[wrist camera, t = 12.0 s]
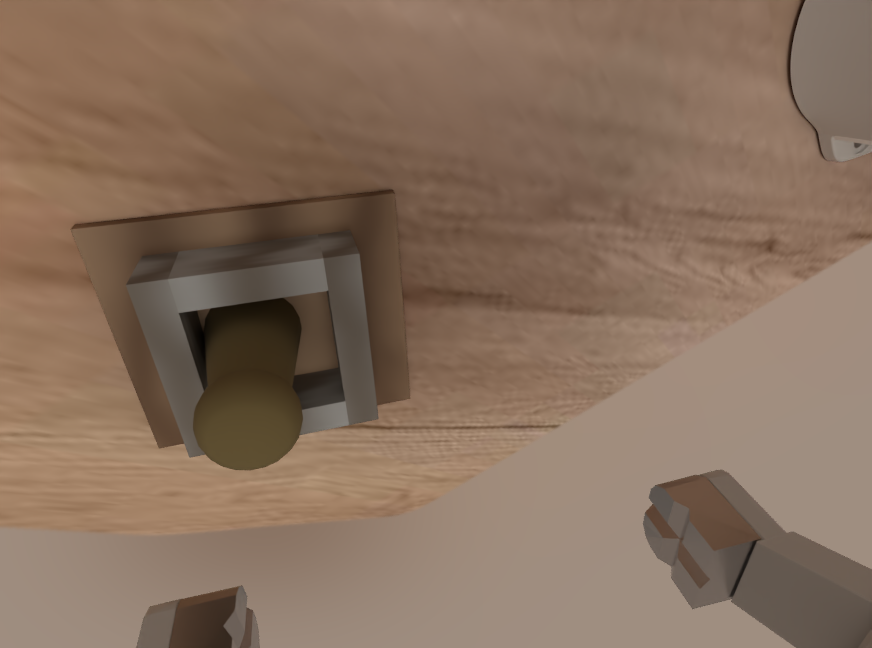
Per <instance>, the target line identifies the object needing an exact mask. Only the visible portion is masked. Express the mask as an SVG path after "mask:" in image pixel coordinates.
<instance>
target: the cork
mask: <svg viewBox="0 0 872 648" xmlns="http://www.w3.org/2000/svg"><path fill="white" fill-rule="evenodd" d="M301 331H302V327H301V322H300V317H299V315H298V314H297V312H296V310H295V309H294V307H293V305H291V304H290V303H289V302H288V301H287V300H286V299H284V298H277V299H270V300H263V301H256V302H250V303H243V304H236V305H229V306H223V307H216V308H210V310H209V312H208V314H207V316H206V318H205V325H204V341H205V355H206V369H207V382H208V387H207V388H206V389H205V391H204V392H203V394H202V396H201V397H200V399H199V401H198V403H197V405H196V407H195V411H194V418H193V431H194V435H195V438H196V441H197V444H198V446H199V447H200V449H201V450H202V451H203V452H204V453H205V454H206V455H207V456H208V457H209V458H210V459H211V460H212V461H214V462H216V463H217V464H219V465H221V466H223V467H226V468H230V469H234V470H254V469H259V468H263V467H266V466H268V465H271V464H273V463H275V462H277V461H278V460H280V459H281V458H282V457H283V456H284V455H286V454H287V453H288V452H289V451H290V450H291V449H292V447H293V446H294V444H295V443H296V441H297V440H298V438H299V435H300V431H301V427H302V422H303V414H302V408H301V403H300V399H299V397H298V396H297V394H296V392H295V391H294V389H293V388H292V386H293V380H294V374H295V368H296V362H297V355H298V349H299V343H300V337H301Z"/></svg>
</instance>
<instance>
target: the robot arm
mask: <svg viewBox="0 0 872 648" xmlns="http://www.w3.org/2000/svg"><path fill="white" fill-rule="evenodd" d="M790 69H791V84H792V89H793V94H794V97H795V100H796V103H797V105H798V107H799V109H800V111H801V112H802V114H803V115H804V116H805V118H806V119H807V120H808V121H809V122H810V123H811V124H812V125H813V126H814V127H815V129H816V130H817V132H818V135H819V141H820V146H821V150H822V153H823V156H824V158H825V159H826V160H828V161H835V162H845V161H848V160H851V159H854V158H857V157H860V156H862V155H865V154H868V153H871V152H872V0H805V2H804V5H803V8H802V10H801V13H800V16H799V19H798V23H797V26H796V30H795V34H794V39H793V45H792V52H791V68H790ZM649 499H650V500H651V502H652V503H653V504H652V506H651V507H650V508H649V509H648V510H647V511H646V512H645V516H644V521H643V525H644V530H645V535H646V538H647V540H648V542H649V544H650V547H651V548H652V550H653V551H654V553H655V555H656V556H657V558H658V559H660V560H662V561H663V562H665V563H667V564H668V565H670V566H671V568H672V569H671V578H672V580H673V581H674V583H675V584H676V586H677V587H678V589H679V590H680V591H681V593H682V594H683V596H684V597H685V599H686V600H687V602H688V603H689V605H690V606H691V607H692V609H694V608H698V607H702V606H706V605H710V604H714V603H718V602H722V601H726V600H730V599H732V601H731V602H732V603H734V604H735V605H737V606H738V607H740V608H741V609H742V610H744V611H745V612H747V613H748V614H749V615H751V616H752V617H754V618H755V619H756V620H758V621H759V622H761V623H762V624H763V625H765V626H766V627H768V628H769V629H770V630H772V631H774V632H775V633H776V634H778V635H779V636H780V637H782V638H783V639H785V640H786V641H787V642H789V643H790V644H792V645H793V646H794V647H796V648H872V569H870V568H868V567H866V566H863V565H861V564H859V563H857V562H855V561H853V560H851V559H849V558H847V557H845V556H843V555H841V554H839V553H837V552H835V551H832V550H830V549H828V548H826V547H824V546H822V545H820V544H818V543H816V542H814V541H811V540H809V539H808V538H806V537H803V536H801V535H799V534H797V533H795V532H789V533H786V532H785V531H784V530H783V529H782V528H781V527H780V526H779V525H778V524H777V523H776V521H774V519H773V518H771V516H770V515H769V514H768V513H767V512H766V511H765V510H764V509H763V508H762V507H761V506H760V505H759V504H758V503H757V502H756V501H755V500H754V499H753V498H752V497H751V496H750V495H749V494H748V493H747V491H746V490H745V489H744V488H743V487H742V486H741V485H740V484H739V483H738V482H737V481H736V480H735V479H734V478H733V477H732V476H731V475H730V474H729V473H727V472H725V471H724V470H715V471H711V472H708V473H704V474H700V475H693V476H689V477H685V478H681V479H678V480H674V481H670V482H666V483H662V484H658V485H655V486H654V487H653V488H652V489H651V491H650V495H649ZM246 604H247V595H246V592H245V591H244V588H243V586H237V587H233V588H229V589H224V590H220V591H215V592H211V593H207V594H202V595H198V596H193V597H189V598H185V599H179V600H175V601H171V602H166V603H163V604H158V605H154V606H150V607H149V609H148V611H147V613H146V615H145V616H144V619H143V622H142V626H141V630H140V635H139V639H138V643H137V647H136V648H260V646H259V631H258V626H257V621H256V617H255V615H254V612H253V610H251V609H249V608H246Z"/></svg>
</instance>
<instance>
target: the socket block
mask: <svg viewBox="0 0 872 648" xmlns="http://www.w3.org/2000/svg"><path fill="white" fill-rule="evenodd" d="M70 230H71V232H72V235H73V237H74V240H75V242H76V245H77V247H78V249H79V252H80V254H81V257H82V259H83V262H84V264H85V267H86V269H87V272H88V274H89V277H90V279H91V282H92V284H93V287H94V289H95V291H96V294H97V296H98V299H99V301H100V304H101V306H102V309H103V311H104V314H105V316H106V319H107V321H108V324H109V326H110V329H111V331H112V333H113V336H114V338H115V341H116V343H117V346H118V348H119V351H120V353H121V356H122V358H123V361H124V363H125V366H126V368H127V370H128V373H129V375H130V378H131V380H132V383H133V385H134V388H135V390H136V393H137V395H138V398H139V400H140V403H141V405H142V408H143V410H144V412H145V415H146V417H147V420H148V422H149V425H150V427H151V430H152V432H153V435H154V437H155V440H156V442H157V445H158V447H159V448H164V447H169V446H174V445H179V444H185V446H186V449H187V452H188V455H189V457H195V456H200V455H205V453H204V452H203V451H202V450H201V449H200V447H199V446H198V444H197V441H196V438H195V435H194V431H193V418H194V411H195V407H196V405H197V403H198V401H199V399H200V397H201V396H202V394H203V392H204V391H205V389H206V388H207V387H208V382H207V369H206V355H205V341H204V325H205V318H206V316H207V314H208V312H209V310H210V308H216V307H223V306H229V305H236V304H243V303H250V302H256V301H263V300H270V299H277V298H284V299H286V300H287V301H288V302H289V303H290V304H291V305H293V307H294V309H295V310H296V312H297V314H298V315H299V317H300V322H301V327H302V331H301V337H300V343H299V349H298V355H297V362H296V368H295V374H294V380H293V386H292V388H293V389H294V391H295V392H296V394H297V396H298V397H299V399H300V403H301V408H302V414H303V422H302V427H301V431H300V435H303V434H308V433H312V432H317V431H322V430H327V429H332V428H337V427H342V426H347V425H352V424H356V423H361V422H366V421H371V420H376V419H379V418H378V410H377V405H380V404H385V403H390V402H395V401H400V400H405V399H410V389H409V375H408V362H407V349H406V335H405V322H404V309H403V295H402V282H401V268H400V255H399V242H398V228H397V215H396V202H395V193H394V191H393V190H387V191H378V192H369V193H359V194H350V195H341V196H332V197H323V198H314V199H305V200H296V201H287V202H278V203H269V204H259V205H250V206H241V207H232V208H223V209H214V210H205V211H196V212H187V213H178V214H169V215H159V216H150V217H141V218H132V219H123V220H114V221H105V222H96V223H87V224H78V225H74V226H73V227H72V228H71V229H70Z"/></svg>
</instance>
